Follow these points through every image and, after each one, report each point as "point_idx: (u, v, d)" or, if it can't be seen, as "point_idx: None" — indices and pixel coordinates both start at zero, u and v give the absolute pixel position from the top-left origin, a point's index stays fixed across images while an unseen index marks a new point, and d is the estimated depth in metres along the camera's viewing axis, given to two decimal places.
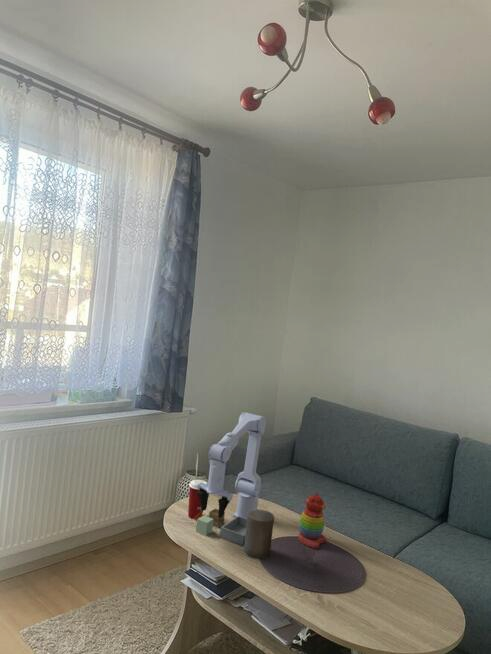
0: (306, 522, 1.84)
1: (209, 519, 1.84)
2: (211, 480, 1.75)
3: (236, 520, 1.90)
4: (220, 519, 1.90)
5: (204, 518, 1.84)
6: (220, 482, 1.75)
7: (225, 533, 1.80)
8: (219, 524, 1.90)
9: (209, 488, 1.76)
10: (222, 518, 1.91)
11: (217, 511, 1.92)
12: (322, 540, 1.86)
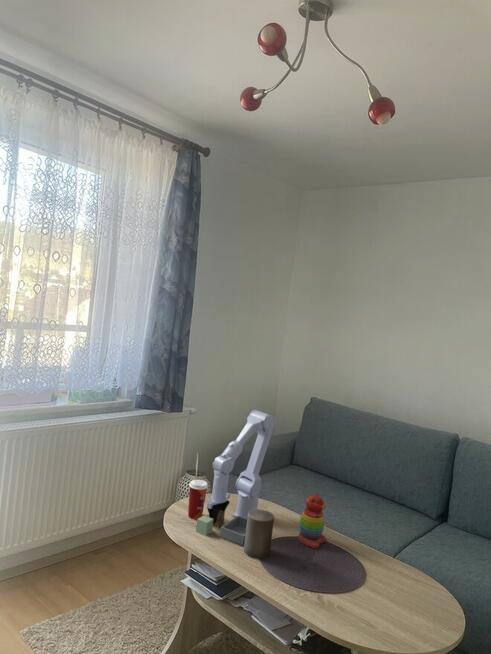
0: (306, 522, 1.84)
1: (209, 519, 1.84)
2: None
3: (236, 520, 1.90)
4: (220, 519, 1.90)
5: (204, 518, 1.84)
6: (214, 490, 1.89)
7: (225, 533, 1.80)
8: (219, 524, 1.90)
9: None
10: (222, 518, 1.91)
11: None
12: (322, 540, 1.86)
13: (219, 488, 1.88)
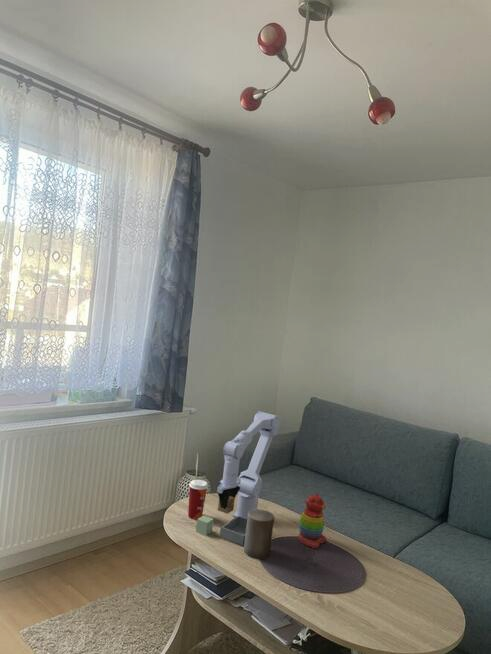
0: (306, 522, 1.84)
1: (209, 519, 1.84)
2: None
3: (236, 520, 1.90)
4: (230, 505, 1.88)
5: (204, 518, 1.84)
6: (225, 475, 1.88)
7: (225, 533, 1.80)
8: (229, 510, 1.88)
9: None
10: (232, 504, 1.90)
11: None
12: (322, 540, 1.86)
13: (231, 473, 1.87)
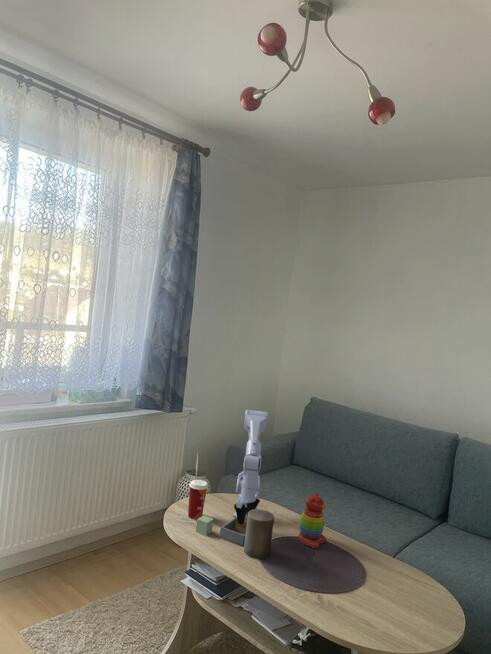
0: (306, 522, 1.84)
1: (209, 519, 1.84)
2: None
3: None
4: None
5: (204, 518, 1.84)
6: (243, 489, 1.85)
7: (225, 533, 1.80)
8: None
9: None
10: None
11: None
12: (322, 540, 1.86)
13: (254, 487, 1.84)
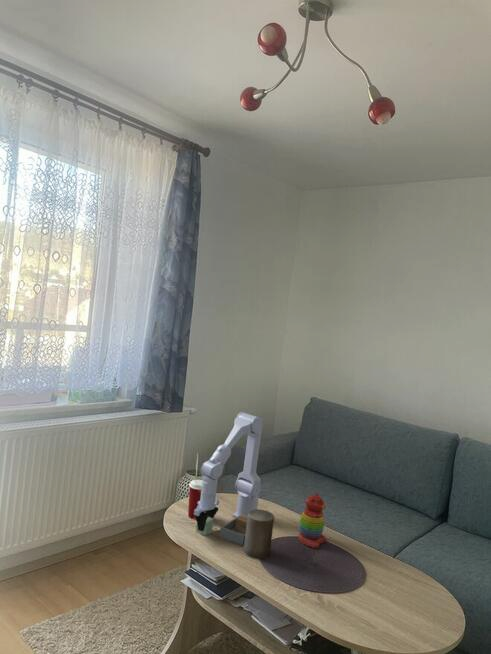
0: (306, 522, 1.84)
1: (209, 519, 1.84)
2: None
3: None
4: None
5: None
6: (202, 497, 1.82)
7: (225, 533, 1.80)
8: None
9: None
10: None
11: (244, 517, 1.87)
12: (322, 540, 1.86)
13: (208, 494, 1.81)
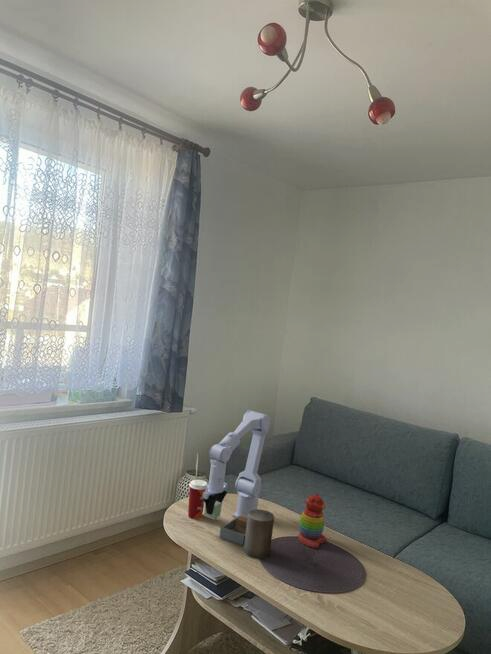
0: (306, 522, 1.84)
1: (217, 503, 1.83)
2: None
3: None
4: None
5: None
6: (211, 480, 1.81)
7: (225, 533, 1.80)
8: None
9: None
10: None
11: (244, 517, 1.87)
12: (322, 540, 1.86)
13: (217, 478, 1.80)
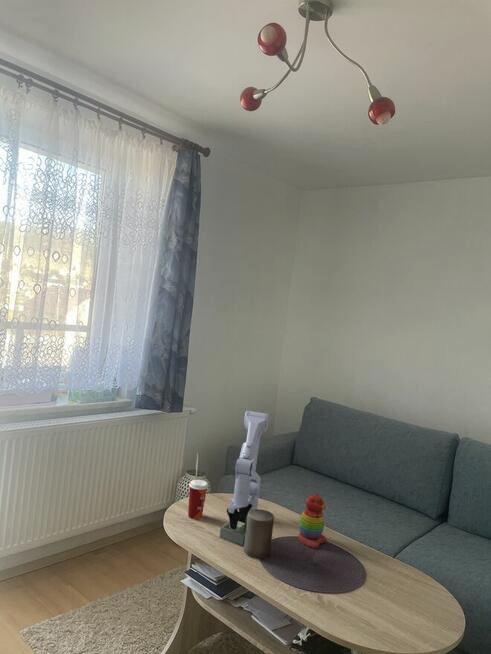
0: (306, 522, 1.84)
1: (241, 524, 1.82)
2: None
3: None
4: None
5: None
6: (236, 494, 1.79)
7: (225, 533, 1.80)
8: None
9: None
10: None
11: None
12: (322, 540, 1.86)
13: (246, 491, 1.79)
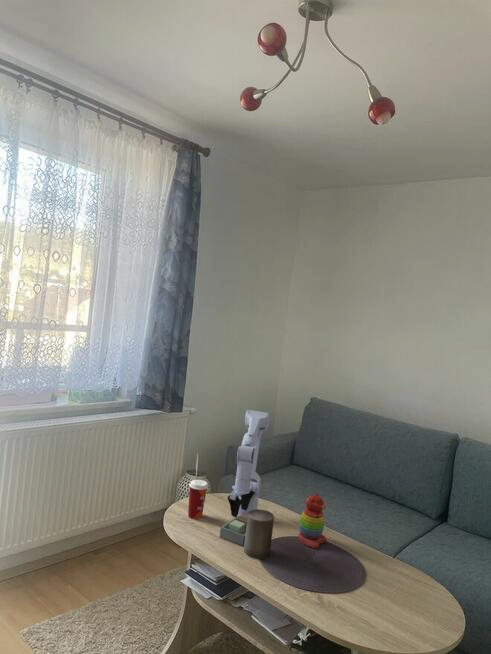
0: (306, 522, 1.84)
1: (241, 524, 1.82)
2: None
3: None
4: None
5: (236, 523, 1.82)
6: (237, 481, 1.79)
7: (225, 533, 1.80)
8: None
9: None
10: None
11: (244, 517, 1.88)
12: (322, 540, 1.86)
13: (248, 478, 1.79)
